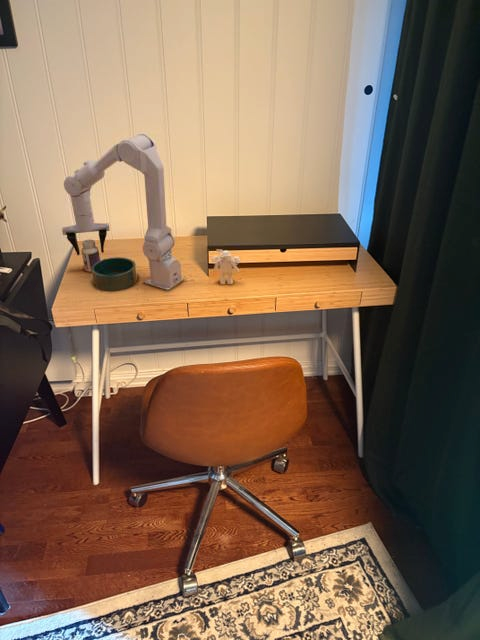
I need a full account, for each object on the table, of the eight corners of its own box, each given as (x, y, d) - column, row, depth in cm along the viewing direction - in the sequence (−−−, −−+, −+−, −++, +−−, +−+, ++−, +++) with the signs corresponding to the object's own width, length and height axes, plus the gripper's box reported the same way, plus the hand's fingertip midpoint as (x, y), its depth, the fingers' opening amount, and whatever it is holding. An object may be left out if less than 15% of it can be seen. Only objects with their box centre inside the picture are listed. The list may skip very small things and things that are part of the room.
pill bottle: (103, 265, 162) (99, 238, 157) (98, 272, 158) (93, 245, 152) (88, 264, 163) (83, 238, 157) (82, 271, 158) (77, 244, 153)
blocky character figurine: (211, 284, 150) (210, 250, 144) (213, 279, 154) (212, 244, 147) (240, 285, 150) (240, 250, 143) (241, 280, 153) (241, 245, 147)
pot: (138, 269, 159) (136, 256, 157) (136, 289, 148) (134, 275, 145) (96, 272, 158) (94, 258, 155) (91, 292, 146) (88, 277, 144)
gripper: (106, 207, 154) (112, 245, 162) (60, 210, 151) (68, 250, 159) (107, 214, 149) (113, 254, 156) (58, 218, 146) (67, 258, 153)
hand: (90, 252), depth 157 cm, fingers open, 7 cm apart
